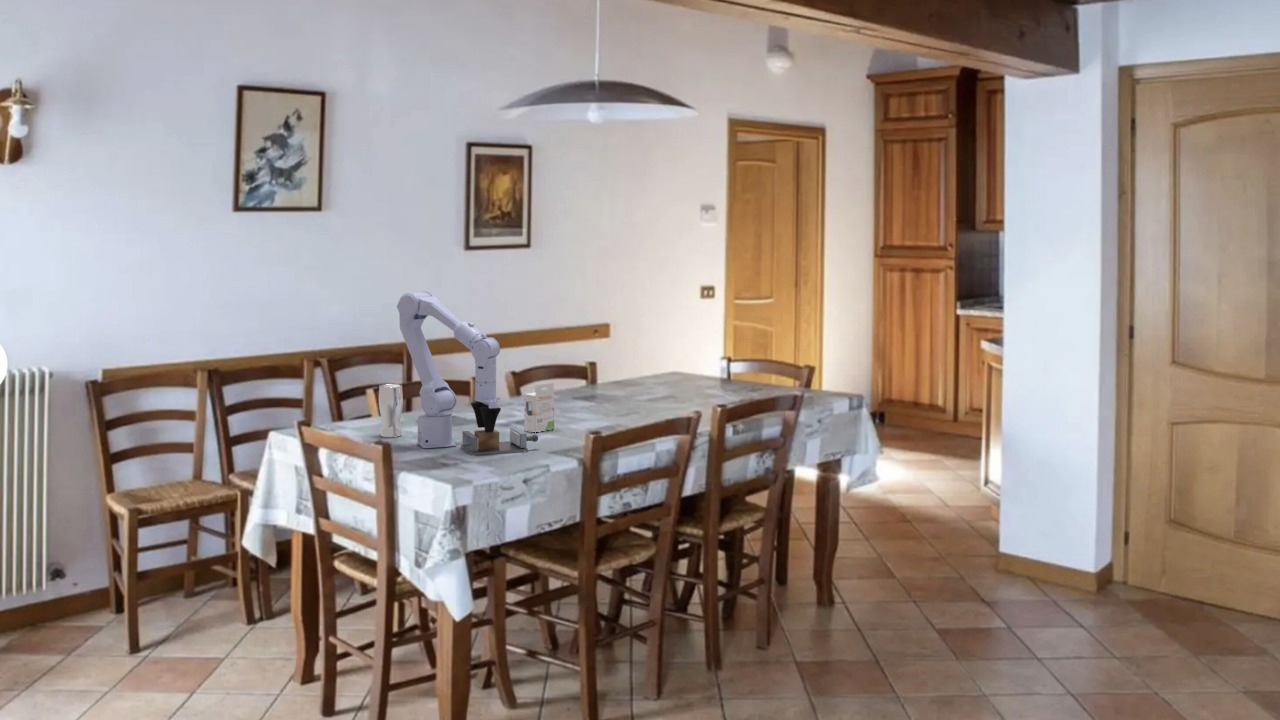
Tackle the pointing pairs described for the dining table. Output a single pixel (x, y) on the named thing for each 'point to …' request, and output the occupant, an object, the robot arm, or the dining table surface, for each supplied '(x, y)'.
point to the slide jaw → (521, 437)
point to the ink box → (539, 409)
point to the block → (487, 439)
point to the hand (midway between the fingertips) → (485, 429)
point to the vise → (472, 447)
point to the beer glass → (390, 409)
